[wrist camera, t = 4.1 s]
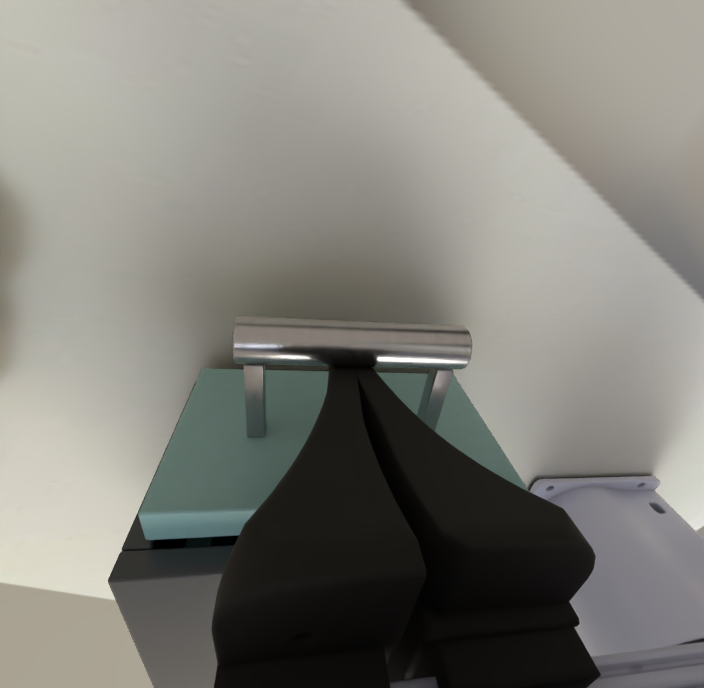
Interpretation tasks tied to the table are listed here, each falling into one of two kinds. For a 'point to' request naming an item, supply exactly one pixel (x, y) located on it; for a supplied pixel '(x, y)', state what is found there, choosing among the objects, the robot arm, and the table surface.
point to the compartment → (170, 604)
